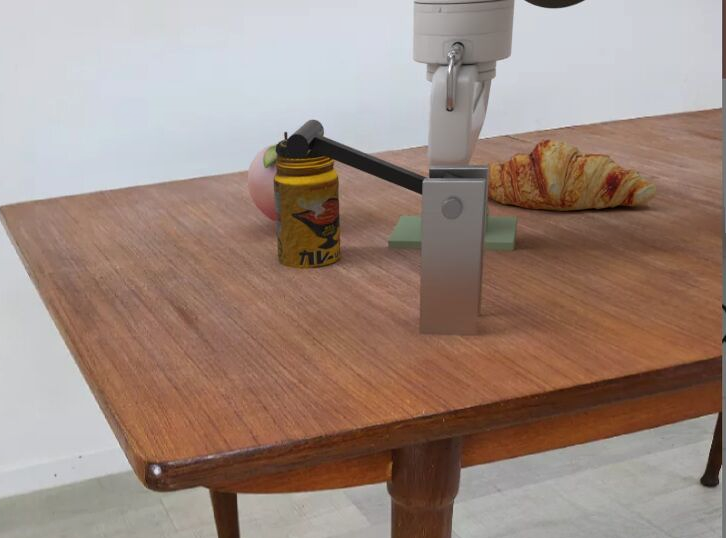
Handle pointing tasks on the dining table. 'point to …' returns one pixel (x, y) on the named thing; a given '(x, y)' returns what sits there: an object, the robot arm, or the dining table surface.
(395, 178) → the lever
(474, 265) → the bracket
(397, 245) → the block
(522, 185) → the croissant
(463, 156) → the robot arm
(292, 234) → the condiment
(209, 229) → the dining table surface
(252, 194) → the decorative fruit
